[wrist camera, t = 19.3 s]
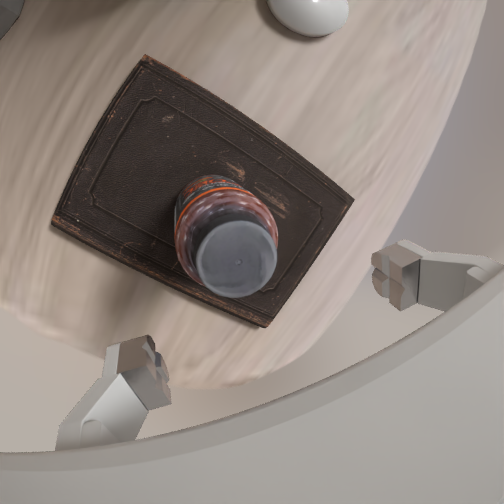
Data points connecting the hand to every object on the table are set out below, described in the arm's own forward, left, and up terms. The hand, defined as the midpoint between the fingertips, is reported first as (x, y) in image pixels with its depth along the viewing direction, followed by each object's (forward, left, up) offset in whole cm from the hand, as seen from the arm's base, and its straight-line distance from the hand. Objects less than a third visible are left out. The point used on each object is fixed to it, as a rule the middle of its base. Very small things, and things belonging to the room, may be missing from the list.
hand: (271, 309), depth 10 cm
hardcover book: (0, 0, -19) cm, 19 cm away
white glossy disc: (-14, -17, -17) cm, 28 cm away
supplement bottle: (0, 0, -16) cm, 16 cm away
